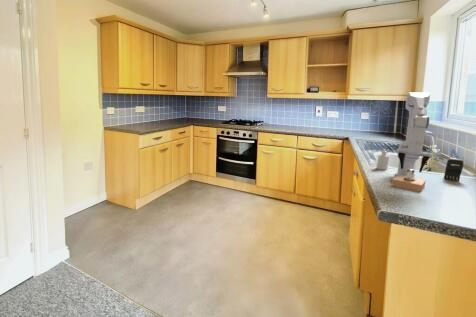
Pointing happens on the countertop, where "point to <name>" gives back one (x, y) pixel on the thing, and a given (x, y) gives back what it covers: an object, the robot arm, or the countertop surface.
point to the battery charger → (453, 169)
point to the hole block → (408, 183)
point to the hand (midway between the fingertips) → (410, 170)
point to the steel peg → (410, 174)
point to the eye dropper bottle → (382, 161)
